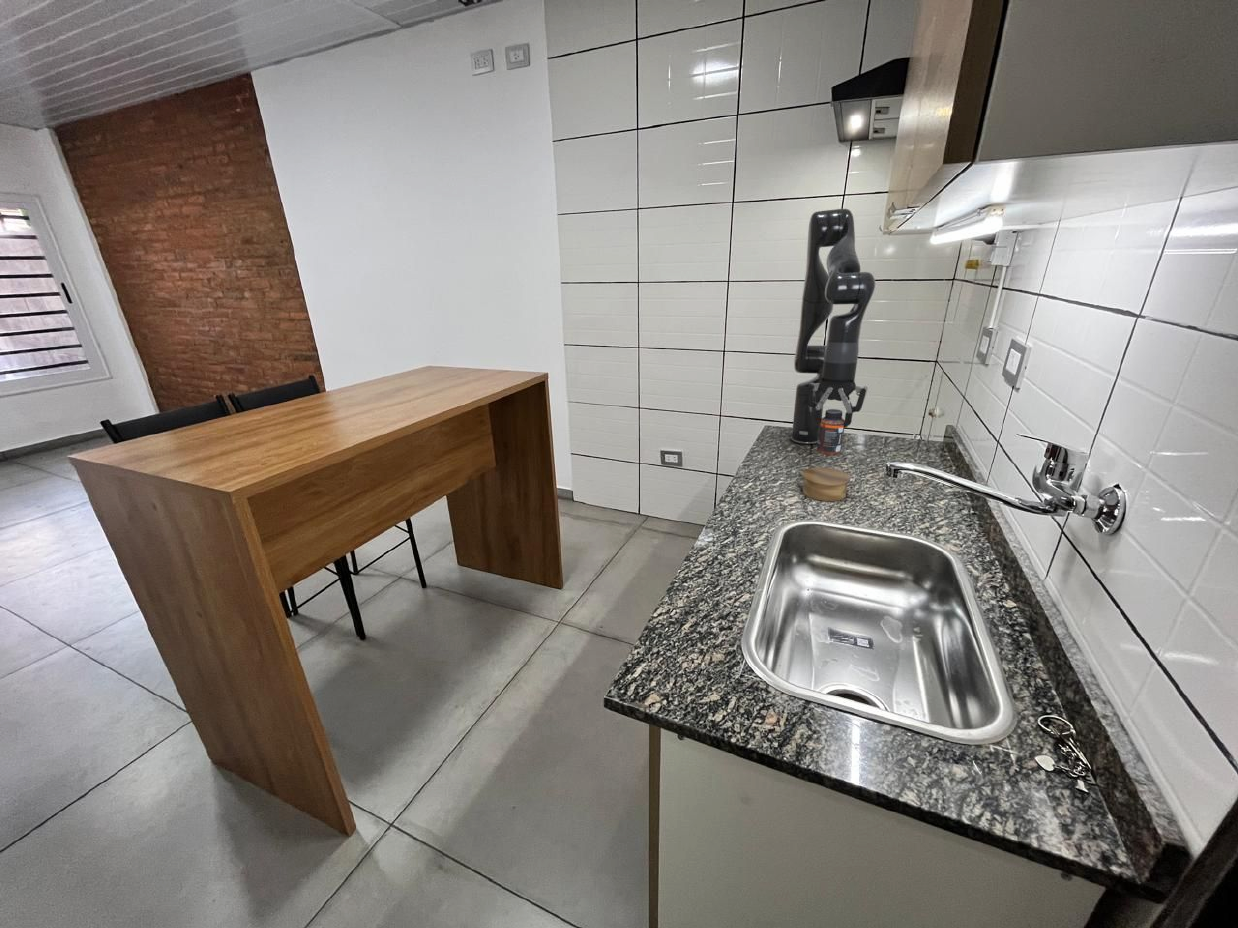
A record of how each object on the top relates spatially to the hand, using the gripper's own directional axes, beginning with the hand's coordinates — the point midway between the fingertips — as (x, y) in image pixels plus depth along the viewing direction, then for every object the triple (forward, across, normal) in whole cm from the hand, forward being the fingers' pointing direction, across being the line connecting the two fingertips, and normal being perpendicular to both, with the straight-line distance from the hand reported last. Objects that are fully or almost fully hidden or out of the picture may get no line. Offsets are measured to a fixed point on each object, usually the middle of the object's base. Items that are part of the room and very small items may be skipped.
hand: (832, 424), depth 125 cm
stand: (+19, 0, 0) cm, 19 cm away
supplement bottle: (+8, 0, 0) cm, 8 cm away
